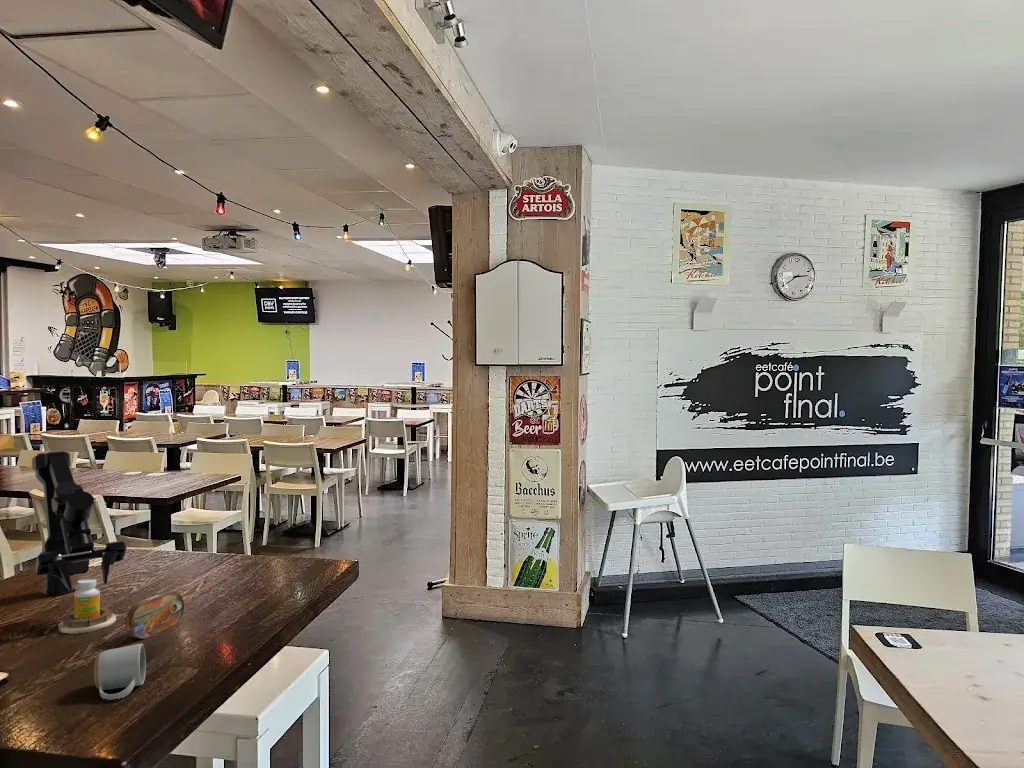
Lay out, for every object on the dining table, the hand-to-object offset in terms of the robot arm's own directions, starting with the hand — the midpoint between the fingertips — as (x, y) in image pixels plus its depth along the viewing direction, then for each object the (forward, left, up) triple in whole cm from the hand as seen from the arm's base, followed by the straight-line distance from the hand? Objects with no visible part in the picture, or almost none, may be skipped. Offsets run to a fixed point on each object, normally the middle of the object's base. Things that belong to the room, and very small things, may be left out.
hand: (88, 586), depth 171 cm
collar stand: (-1, 0, -9) cm, 10 cm away
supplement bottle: (-1, 0, -9) cm, 9 cm away
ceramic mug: (+41, -12, -10) cm, 44 cm away
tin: (+17, +7, -10) cm, 21 cm away
